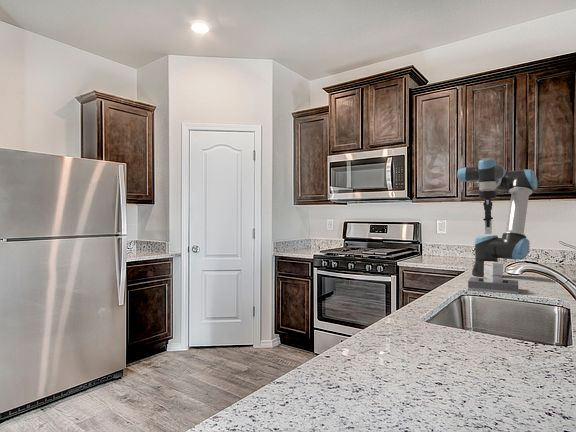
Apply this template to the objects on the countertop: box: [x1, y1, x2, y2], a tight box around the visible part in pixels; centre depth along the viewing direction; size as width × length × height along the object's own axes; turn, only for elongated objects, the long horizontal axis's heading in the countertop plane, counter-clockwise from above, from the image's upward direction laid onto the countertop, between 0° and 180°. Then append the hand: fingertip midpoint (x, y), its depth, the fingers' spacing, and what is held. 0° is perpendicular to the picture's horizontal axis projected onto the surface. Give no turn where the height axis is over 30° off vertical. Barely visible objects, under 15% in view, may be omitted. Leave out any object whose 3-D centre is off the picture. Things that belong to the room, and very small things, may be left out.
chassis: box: [467, 276, 519, 295], centre depth 176 cm, size 14×20×4 cm
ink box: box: [483, 261, 504, 283], centre depth 176 cm, size 9×5×12 cm, turn 179°
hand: (488, 233), depth 187 cm, fingers open, 13 cm apart
